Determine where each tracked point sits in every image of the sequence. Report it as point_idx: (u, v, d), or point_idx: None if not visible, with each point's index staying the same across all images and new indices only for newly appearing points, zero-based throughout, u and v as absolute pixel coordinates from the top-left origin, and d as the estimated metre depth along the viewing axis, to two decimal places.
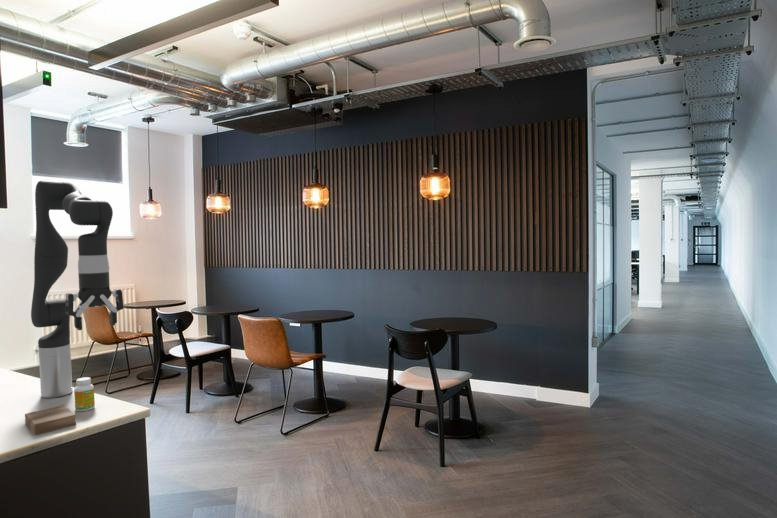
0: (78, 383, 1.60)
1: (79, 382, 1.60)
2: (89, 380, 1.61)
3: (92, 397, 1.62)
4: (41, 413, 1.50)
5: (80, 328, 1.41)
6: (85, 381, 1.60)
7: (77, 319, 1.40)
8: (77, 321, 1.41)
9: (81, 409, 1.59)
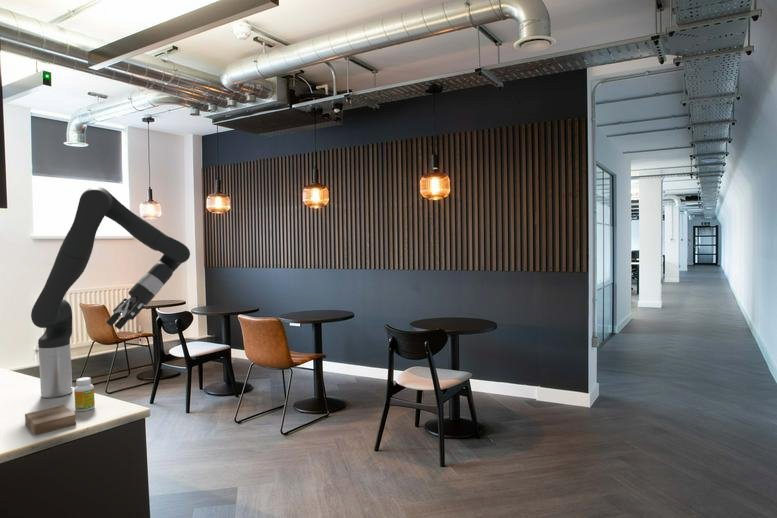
0: (78, 383, 1.60)
1: (79, 382, 1.60)
2: (89, 380, 1.61)
3: (92, 397, 1.62)
4: (41, 413, 1.50)
5: None
6: (85, 381, 1.60)
7: None
8: None
9: (81, 409, 1.59)
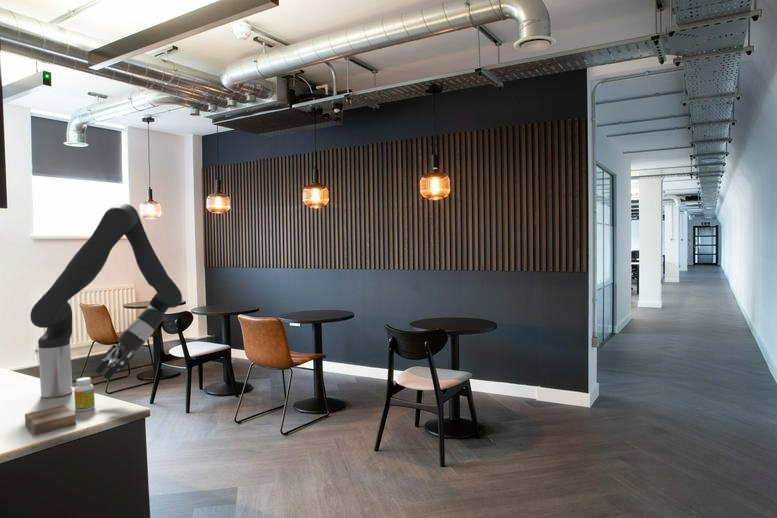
0: (78, 383, 1.60)
1: (79, 382, 1.60)
2: (89, 380, 1.61)
3: (92, 397, 1.62)
4: (41, 413, 1.50)
5: None
6: (85, 381, 1.60)
7: None
8: None
9: (81, 409, 1.59)
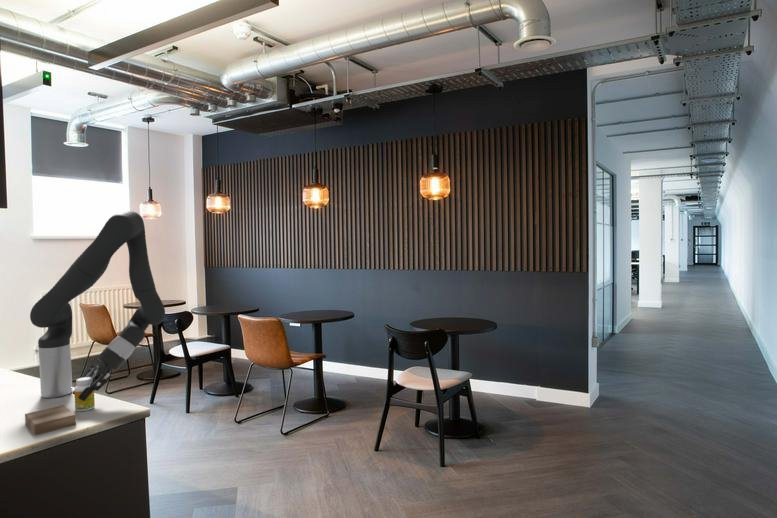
0: (78, 383, 1.60)
1: (79, 382, 1.60)
2: (89, 380, 1.61)
3: (92, 397, 1.62)
4: (41, 413, 1.50)
5: None
6: (85, 381, 1.60)
7: None
8: None
9: (81, 409, 1.59)
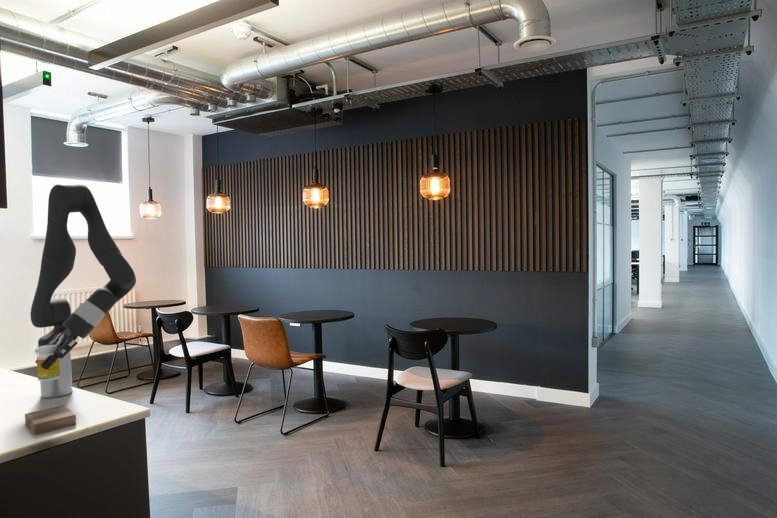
0: (41, 350, 1.46)
1: (42, 349, 1.46)
2: (53, 347, 1.48)
3: (57, 366, 1.48)
4: (41, 413, 1.50)
5: None
6: (48, 348, 1.47)
7: None
8: None
9: (44, 379, 1.46)
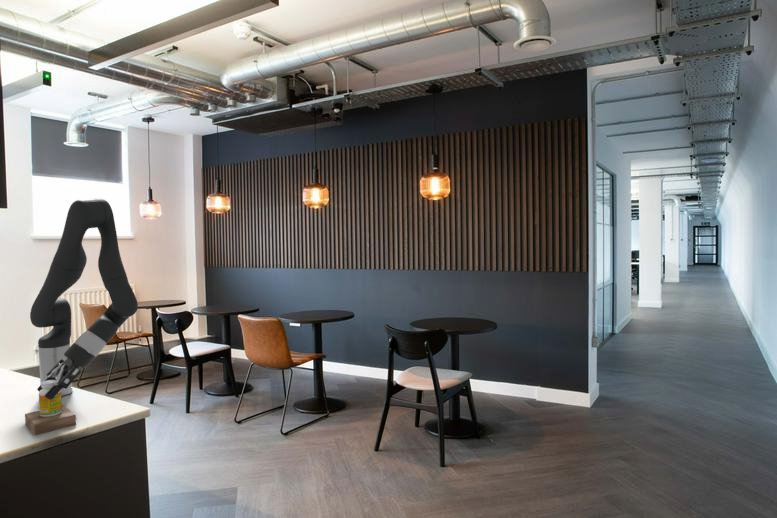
0: (43, 386, 1.47)
1: (44, 385, 1.47)
2: None
3: (59, 401, 1.49)
4: None
5: None
6: (51, 384, 1.47)
7: None
8: None
9: (46, 414, 1.47)
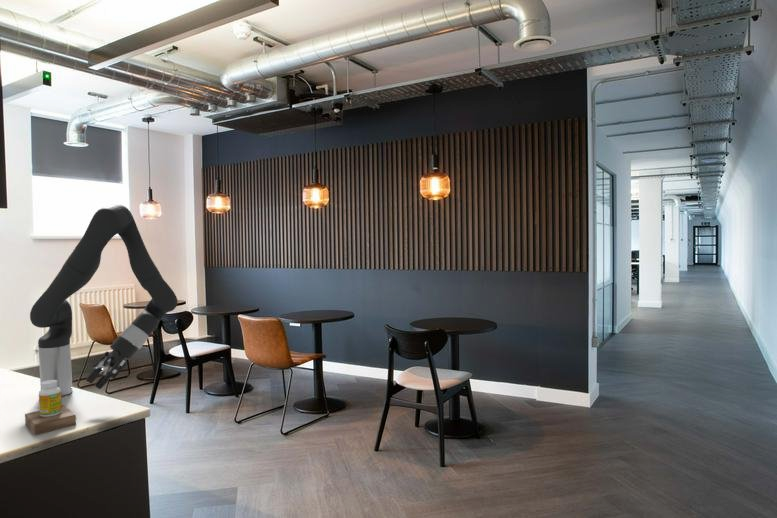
0: (43, 386, 1.47)
1: (44, 385, 1.47)
2: (55, 383, 1.49)
3: (58, 401, 1.49)
4: None
5: None
6: (50, 384, 1.47)
7: None
8: None
9: (46, 414, 1.47)
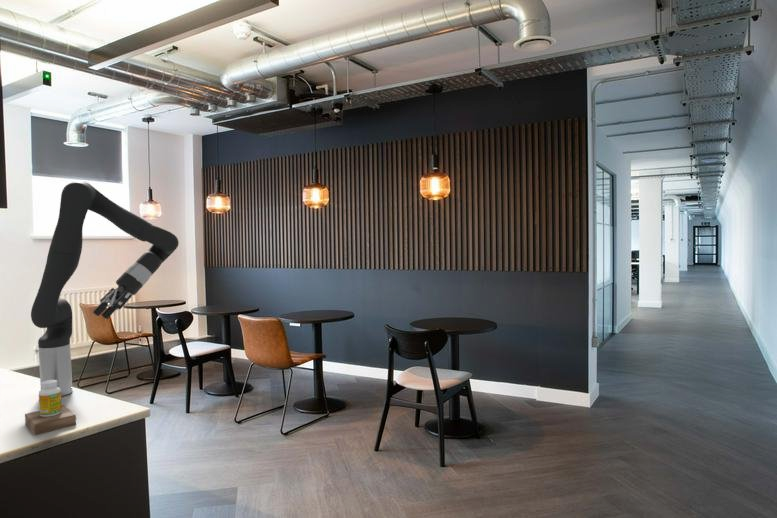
0: (43, 386, 1.47)
1: (44, 385, 1.47)
2: (55, 383, 1.49)
3: (58, 401, 1.49)
4: None
5: None
6: (51, 384, 1.47)
7: None
8: None
9: (46, 414, 1.47)
